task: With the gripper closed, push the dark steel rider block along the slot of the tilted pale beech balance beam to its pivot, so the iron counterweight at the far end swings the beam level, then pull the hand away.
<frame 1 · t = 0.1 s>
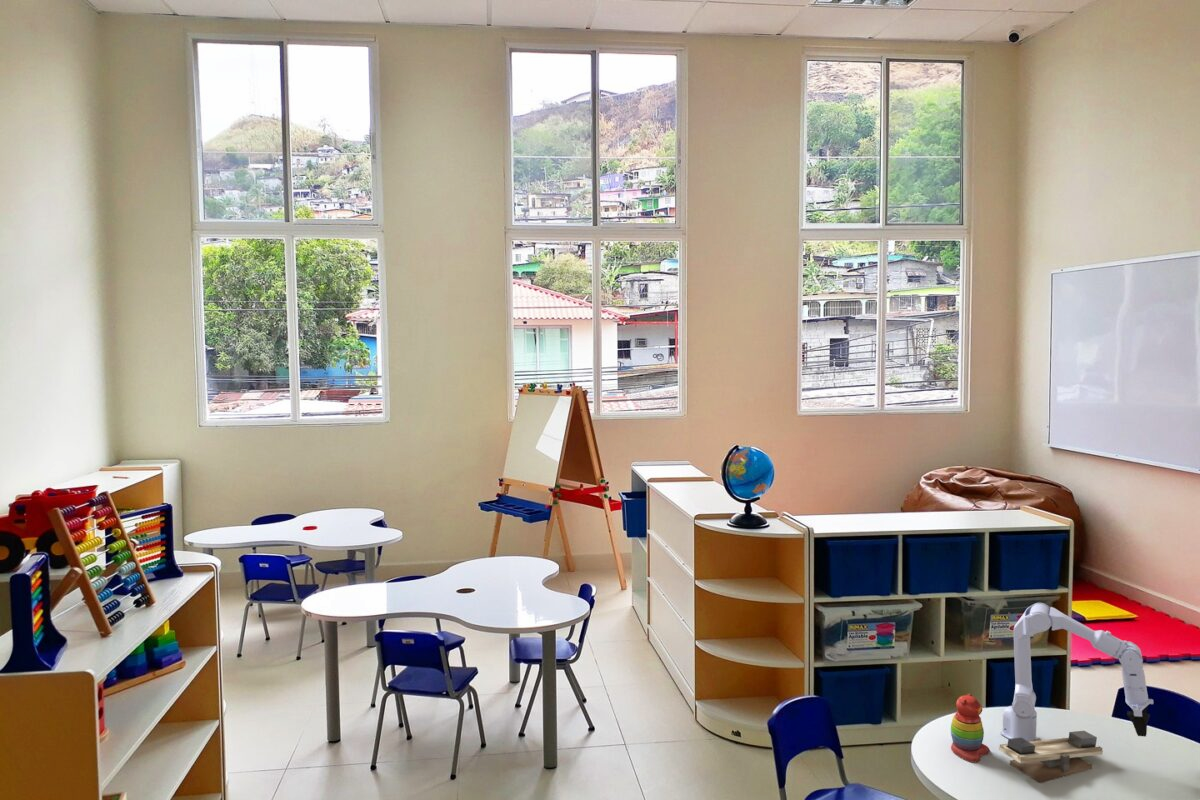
hand: (1141, 730, 252), 11 cm above the table, tool pointing down, fingers open, 7 cm apart
steel rider: (1081, 745, 257), point 4 cm above the table, tilted 7°, touching balance beam
balance beam: (1051, 749, 253), point 5 cm above the table, hinge at -7.4°, touching iron counterweight, steel rider
stacking bear: (967, 752, 263), on the table
iron counterweight: (1020, 752, 249), point 7 cm above the table, tilted 7°, touching balance beam
beam stand: (1050, 766, 253), on the table
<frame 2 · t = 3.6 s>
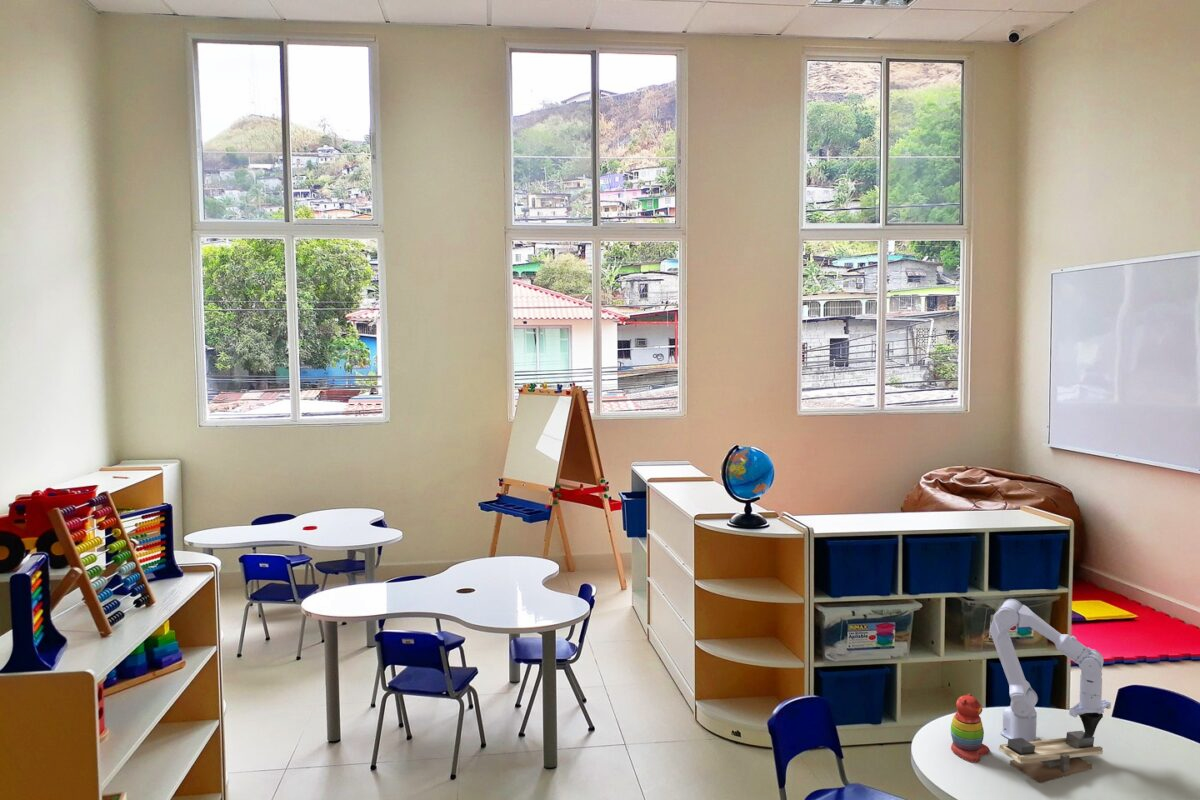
hand: (1089, 734, 258), 7 cm above the table, tool pointing down, fingers closed
steel rider: (1079, 745, 256), point 4 cm above the table, tilted 7°, touching gripper
balance beam: (1051, 749, 253), point 5 cm above the table, hinge at -7.0°, touching iron counterweight
everything else where it was.
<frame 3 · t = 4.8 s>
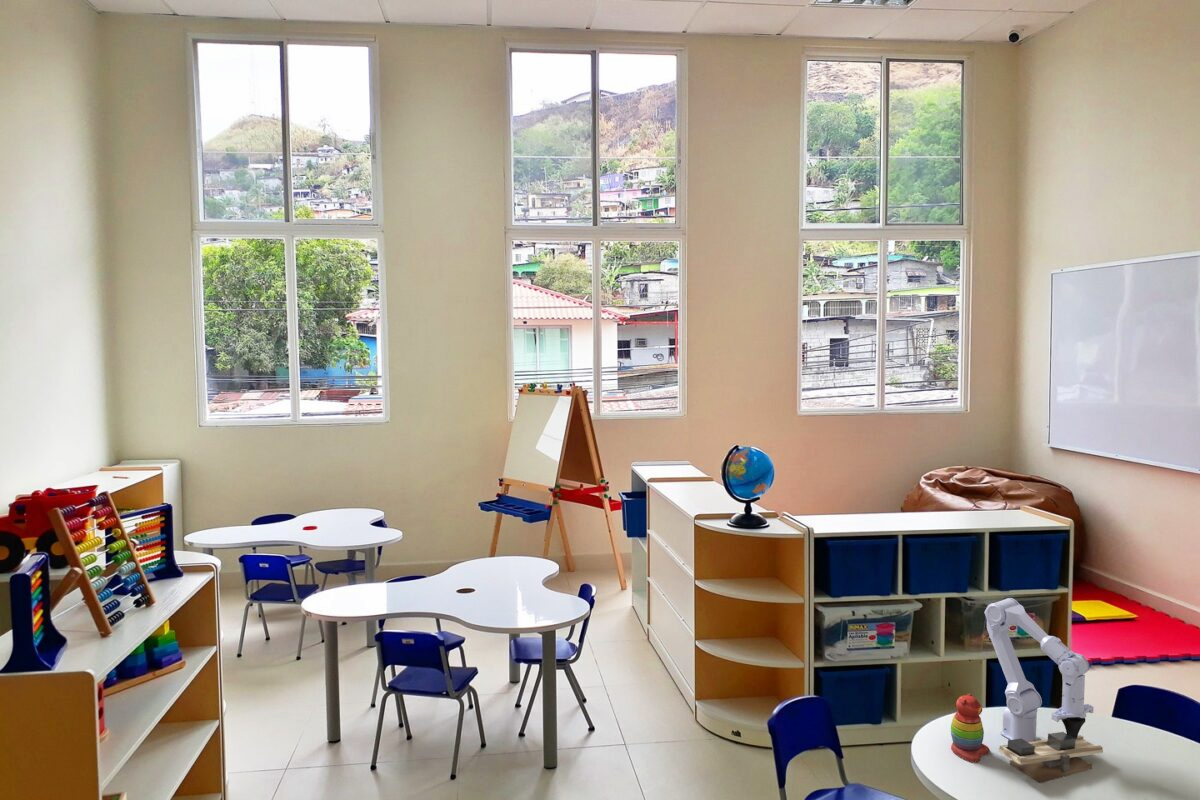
hand: (1071, 739, 255), 7 cm above the table, tool pointing down, fingers closed
steel rider: (1060, 747, 254), point 5 cm above the table, tilted 6°, touching gripper
balance beam: (1051, 749, 253), point 5 cm above the table, hinge at -5.8°, touching iron counterweight
everything else where it was.
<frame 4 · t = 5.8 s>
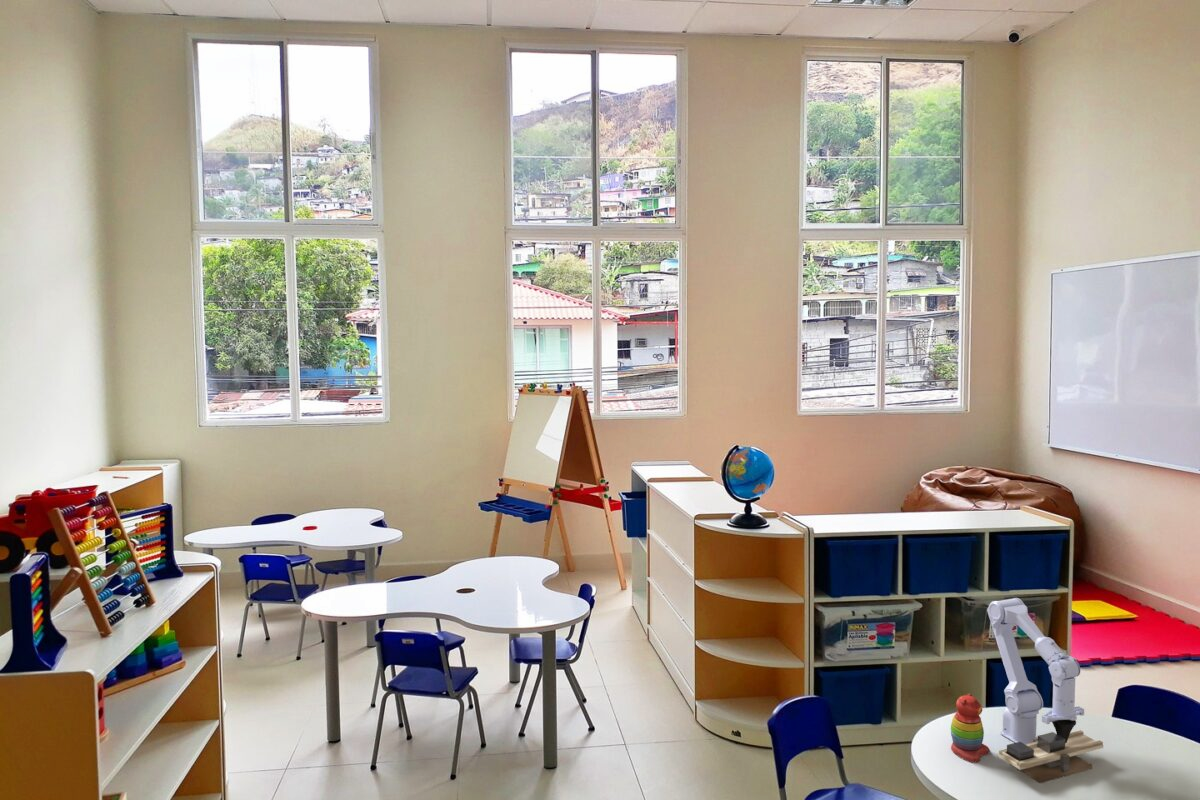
hand: (1062, 741, 254), 7 cm above the table, tool pointing down, fingers closed
steel rider: (1051, 748, 253), point 5 cm above the table, touching balance beam, gripper
balance beam: (1051, 749, 253), point 5 cm above the table, hinge at -0.3°, touching iron counterweight, steel rider
iron counterweight: (1020, 756, 249), point 6 cm above the table, touching balance beam
everything else where it was.
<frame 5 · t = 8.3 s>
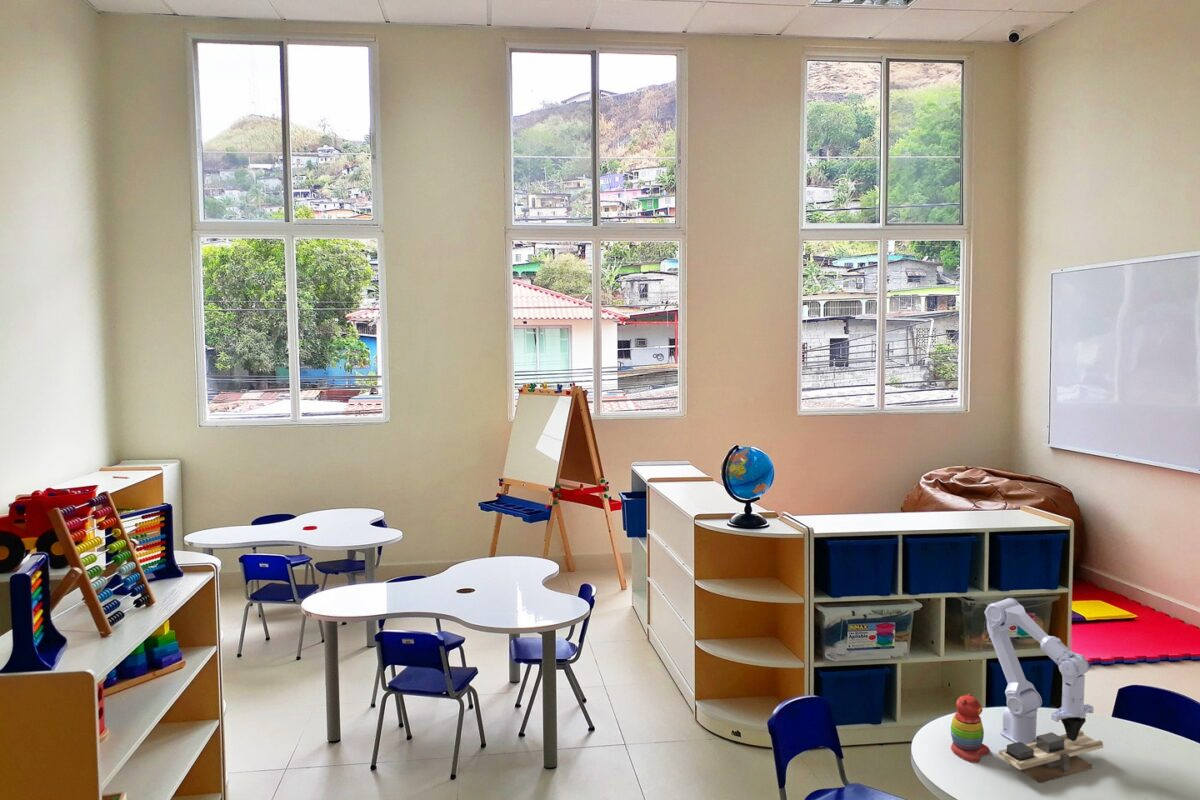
hand: (1071, 739, 255), 7 cm above the table, tool pointing down, fingers closed
steel rider: (1050, 748, 253), point 6 cm above the table, touching balance beam
everything else where it was.
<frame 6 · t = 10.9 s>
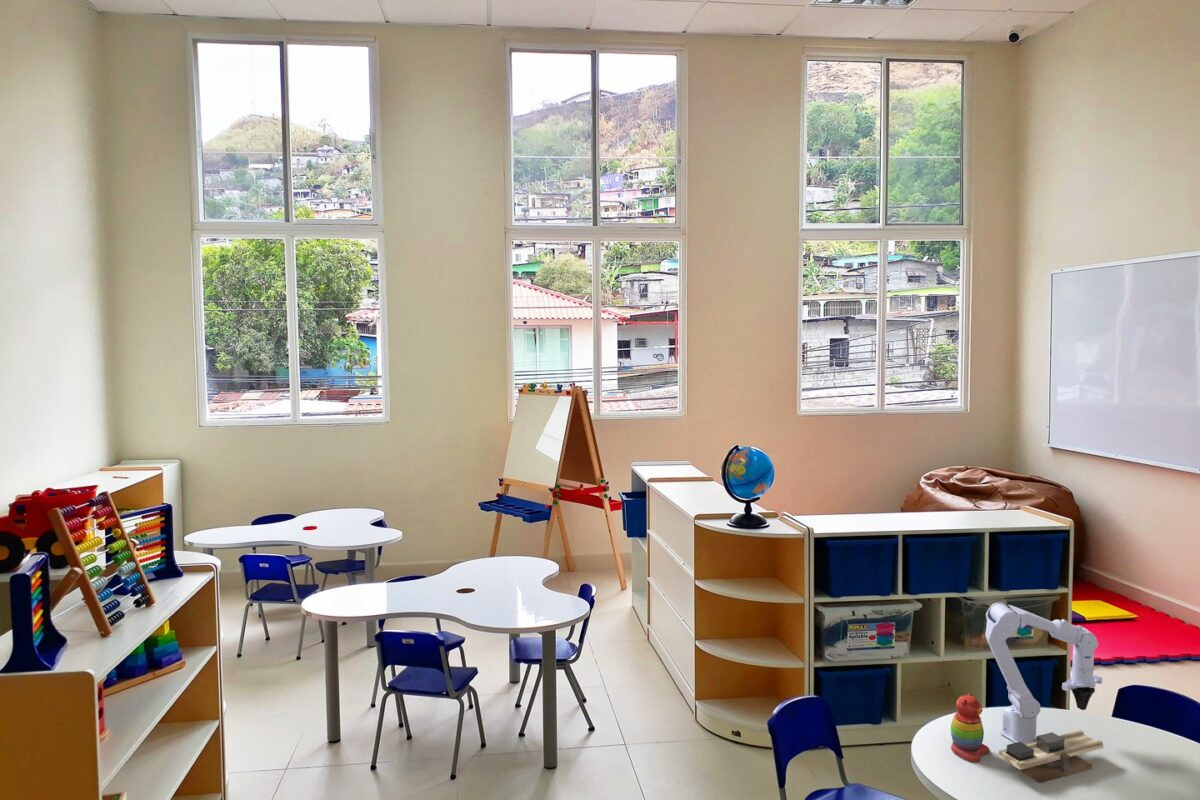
hand: (1081, 708, 267), 10 cm above the table, tool pointing down, fingers closed
nothing on the table moved.
at the end: balance beam at +0° (first picture: -7°); steel rider 0.4 cm off-centre on the balance beam, point 0.5 cm above the balance beam's base; steel rider touching balance beam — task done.
